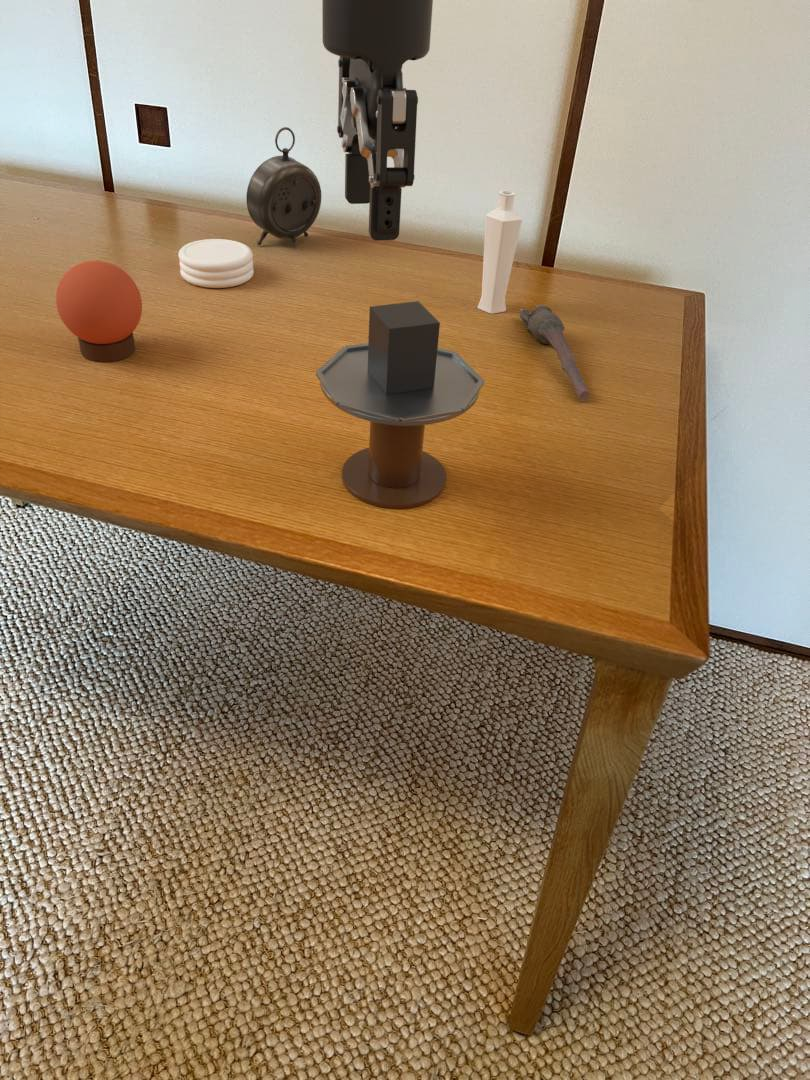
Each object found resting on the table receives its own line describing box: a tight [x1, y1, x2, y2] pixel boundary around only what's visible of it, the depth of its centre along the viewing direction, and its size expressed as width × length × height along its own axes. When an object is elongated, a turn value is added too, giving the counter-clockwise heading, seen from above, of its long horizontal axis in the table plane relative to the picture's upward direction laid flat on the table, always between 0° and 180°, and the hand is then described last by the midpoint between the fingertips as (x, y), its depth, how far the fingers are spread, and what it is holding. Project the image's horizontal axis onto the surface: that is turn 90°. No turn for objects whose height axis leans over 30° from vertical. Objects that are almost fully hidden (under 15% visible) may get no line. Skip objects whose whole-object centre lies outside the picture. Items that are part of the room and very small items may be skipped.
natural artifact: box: [519, 304, 591, 403], centre depth 99 cm, size 4×23×4 cm, turn 5°
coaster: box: [178, 238, 255, 289], centre depth 112 cm, size 10×10×4 cm
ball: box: [55, 260, 143, 363], centre depth 91 cm, size 9×9×10 cm
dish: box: [315, 342, 485, 510], centre depth 74 cm, size 14×14×11 cm
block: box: [367, 300, 441, 395], centre depth 69 cm, size 4×4×6 cm
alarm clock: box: [245, 126, 322, 248], centre depth 119 cm, size 11×5×16 cm, turn 130°
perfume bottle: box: [476, 189, 523, 315], centre depth 106 cm, size 5×4×15 cm
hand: (370, 219), depth 64 cm, fingers open, 8 cm apart
